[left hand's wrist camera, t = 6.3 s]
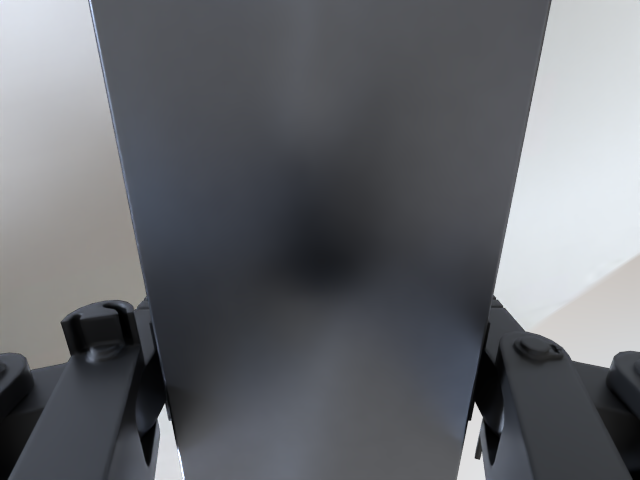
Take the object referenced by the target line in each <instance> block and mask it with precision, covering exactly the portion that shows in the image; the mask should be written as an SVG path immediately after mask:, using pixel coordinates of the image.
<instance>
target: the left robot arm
mask: <svg viewBox="0 0 640 480" xmlns="http://www.w3.org/2000/svg"><path fill="white" fill-rule="evenodd" d="M61 325H62V328H63V332H64V335H65V338H66V341H67V345H68V348H69V351H70V355H71V357H70V359H69V361H68V362H67V363H63V364H59V365H54V366H49V367H44V368H39V369H34V370H30V367H29V365H28V362H27V359H26V358H25V357H24V356H23V355H21V354H17V353H4V354H0V480H154V478H155V470H156V462H157V455H158V447H159V439H160V430H159V424H158V420H157V418H158V416H159V414H160V412H161V410H162V408H163V406H164V404H166V409H167V414H168V419H169V421H172V420H171V415H170V410H169V405H168V400H167V395H166V390H165V385H164V380H163V375H162V370H161V365H160V360H159V355H158V350H157V345H156V339H155V334H154V329H153V324H152V319H151V314H150V309H149V304H148V299H147V296H146V297H145V299H144V301H142V302H141V303H140V304H139V306H138V307H137V309H135V310H134V309H133V306H132V305H131V304H130V303H128V302H125V301H120V300H109V301H102V302H97V303H92V304H89V305H87V306H84V307H81V308H79V309H77V310H75V311H74V312H72V313H70V314H68V315H67V316H66V317H65V318H64V319H63V320H62V321H61ZM475 402H476V404H477V406H478V408H479V410H480V412H481V414H482V416H483V420H482V424H481V429H480V434H479V438H478V443H477V447H476V453H475V459H479V460H480V457H481V453H482V454H483V461H484V469H485V477H486V480H640V352H635V351H626V352H619V353H618V354H617V355H615V356H614V358H613V361H612V364H611V366H610V368H605V367H600V366H595V365H590V364H585V363H580V362H575V361H572V360H571V358H570V356H569V355H568V354H567V352H566V351H565V350H564V349H563V348H562V347H561V346H559V345H558V344H557V343H555V342H554V341H552V340H550V339H548V338H545V337H543V336H541V335H538V334H534V333H530V332H525V331H524V329H523V328H522V327H521V326H520V325H519V324H518V323H517V321H516V320H515V319H514V318H513V317H512V316H511V315H510V313H509V312H508V311H507V310H506V309H505V308H503V305H502V304H501V303H500V302H499V301H498V300H496V297H495V296H494V295H493V298H492V303H491V308H490V313H489V318H488V323H487V328H486V333H485V339H484V344H483V349H482V354H481V359H480V364H479V369H478V374H477V379H476V384H475V389H474V394H473V399H472V404H471V409H470V414H469V419H468V421H471V418H472V413H473V408H474V403H475Z"/></svg>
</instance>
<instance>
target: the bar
mask: <svg viewBox="0 0 640 480" xmlns="http://www.w3.org/2000/svg"><path fill="white" fill-rule="evenodd" d="M88 2H89V7H90V12H91V17H92V22H93V27H94V32H95V37H96V42H97V47H98V52H99V57H100V62H101V67H102V72H103V77H104V82H105V87H106V92H107V98H108V103H109V108H110V113H111V118H112V123H113V128H114V133H115V138H116V143H117V148H118V153H119V158H120V163H121V168H122V173H123V178H124V183H125V188H126V193H127V198H128V203H129V208H130V213H131V218H132V224H133V229H134V234H135V239H136V244H137V249H138V254H139V259H140V264H141V269H142V274H143V279H144V284H145V289H146V294H147V299H148V304H149V309H150V314H151V319H152V324H153V329H154V334H155V339H156V345H157V350H158V355H159V360H160V365H161V370H162V375H163V380H164V385H165V390H166V395H167V400H168V405H169V410H170V415H171V420H172V425H173V430H174V435H175V440H176V445H177V450H178V455H179V460H180V466H181V471H182V476H183V480H457V475H458V470H459V465H460V459H461V455H462V450H463V445H464V439H465V434H466V429H467V424H468V419H469V414H470V409H471V404H472V399H473V394H474V389H475V384H476V379H477V374H478V369H479V364H480V359H481V354H482V349H483V344H484V339H485V333H486V328H487V323H488V318H489V313H490V308H491V303H492V298H493V293H494V288H495V283H496V278H497V273H498V268H499V263H500V258H501V253H502V248H503V243H504V238H505V233H506V227H507V222H508V217H509V212H510V207H511V202H512V197H513V192H514V187H515V182H516V177H517V172H518V167H519V162H520V157H521V152H522V147H523V142H524V137H525V132H526V127H527V121H528V116H529V111H530V106H531V101H532V96H533V91H534V86H535V81H536V76H537V71H538V66H539V61H540V56H541V51H542V46H543V41H544V36H545V31H546V26H547V21H548V15H549V10H550V5H551V0H88Z"/></svg>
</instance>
